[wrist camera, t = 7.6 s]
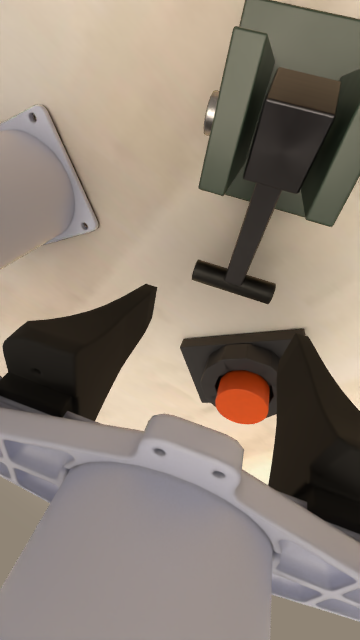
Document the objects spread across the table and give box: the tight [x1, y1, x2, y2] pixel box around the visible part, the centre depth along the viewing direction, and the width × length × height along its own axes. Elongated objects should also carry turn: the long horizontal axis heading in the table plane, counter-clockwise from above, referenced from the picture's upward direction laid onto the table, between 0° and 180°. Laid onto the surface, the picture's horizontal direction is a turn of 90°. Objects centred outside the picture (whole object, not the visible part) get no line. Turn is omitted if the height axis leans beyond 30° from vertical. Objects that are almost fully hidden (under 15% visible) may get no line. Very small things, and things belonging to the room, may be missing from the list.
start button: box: [215, 370, 270, 424], centre depth 24 cm, size 4×4×2 cm
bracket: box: [199, 0, 360, 227], centre depth 13 cm, size 8×7×8 cm
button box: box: [180, 329, 305, 418], centre depth 25 cm, size 10×7×3 cm
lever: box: [192, 67, 341, 304], centre depth 14 cm, size 11×5×2 cm, turn 167°
